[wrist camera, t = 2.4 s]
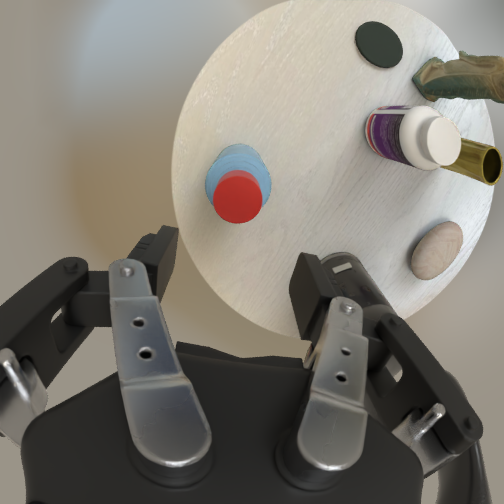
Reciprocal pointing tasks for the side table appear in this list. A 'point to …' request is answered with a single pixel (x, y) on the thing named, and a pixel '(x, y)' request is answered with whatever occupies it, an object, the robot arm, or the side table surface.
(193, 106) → the side table surface
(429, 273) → the decorative stone
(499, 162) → the vase
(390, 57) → the coaster
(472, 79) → the statue
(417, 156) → the pill bottle
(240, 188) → the cap
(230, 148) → the bottle
